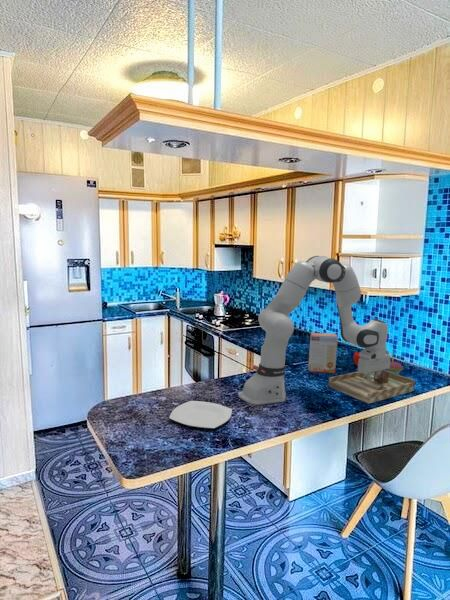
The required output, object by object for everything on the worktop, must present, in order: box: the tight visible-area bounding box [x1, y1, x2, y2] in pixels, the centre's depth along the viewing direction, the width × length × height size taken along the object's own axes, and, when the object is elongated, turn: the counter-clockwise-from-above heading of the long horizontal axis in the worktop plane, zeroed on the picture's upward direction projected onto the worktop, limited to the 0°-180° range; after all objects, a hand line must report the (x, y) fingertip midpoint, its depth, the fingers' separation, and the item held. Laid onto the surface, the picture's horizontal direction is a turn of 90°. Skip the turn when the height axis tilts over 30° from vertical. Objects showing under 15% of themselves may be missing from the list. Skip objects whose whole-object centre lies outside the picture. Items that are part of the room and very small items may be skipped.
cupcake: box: [387, 353, 404, 375], centre depth 229 cm, size 9×8×12 cm
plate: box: [168, 400, 233, 430], centre depth 166 cm, size 23×23×2 cm
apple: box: [353, 351, 361, 367], centre depth 242 cm, size 9×9×8 cm
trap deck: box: [327, 369, 416, 405], centre depth 206 cm, size 34×24×6 cm
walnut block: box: [373, 370, 390, 383], centre depth 210 cm, size 5×5×5 cm
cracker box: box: [307, 332, 339, 374], centre depth 229 cm, size 14×6×21 cm, turn 84°
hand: (373, 379), depth 206 cm, fingers open, 4 cm apart
